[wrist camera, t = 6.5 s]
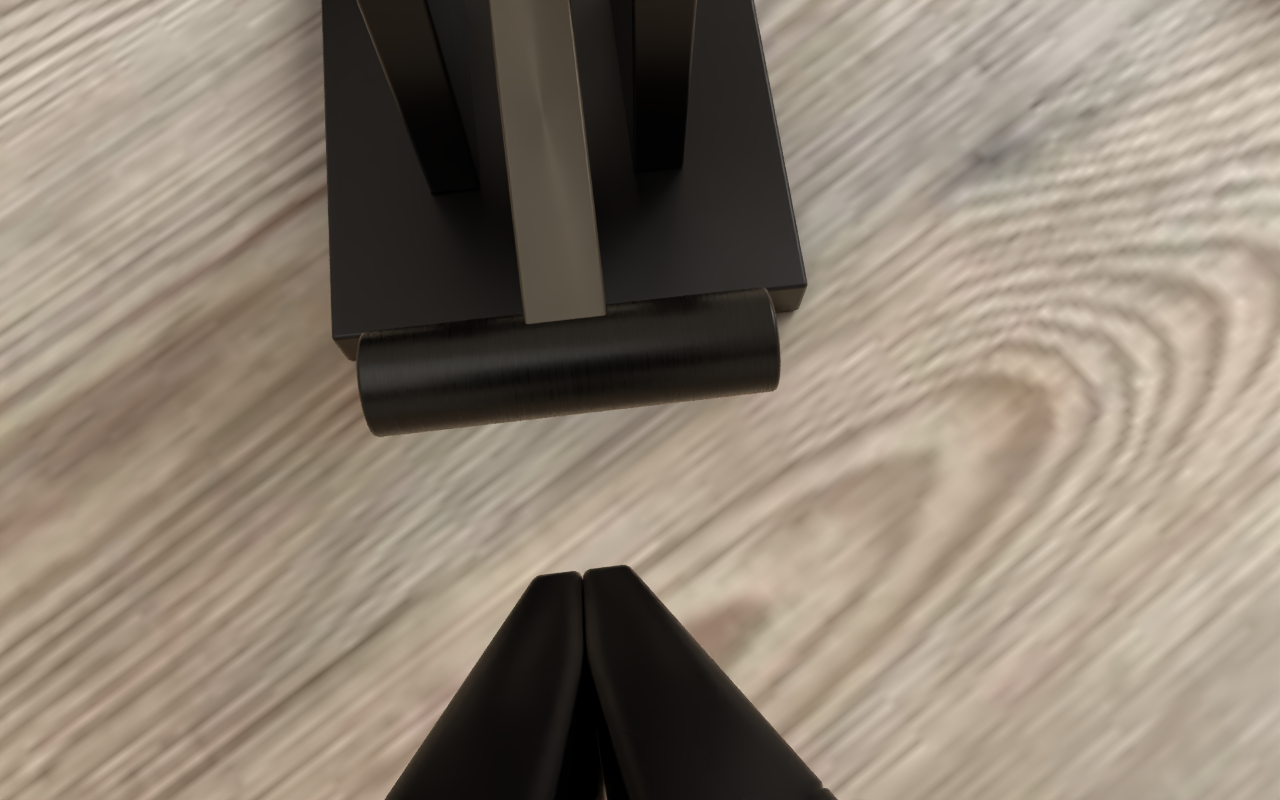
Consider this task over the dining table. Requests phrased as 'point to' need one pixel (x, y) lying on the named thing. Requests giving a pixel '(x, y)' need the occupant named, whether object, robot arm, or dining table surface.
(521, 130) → the lever
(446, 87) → the bracket
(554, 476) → the dining table surface
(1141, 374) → the dining table surface
